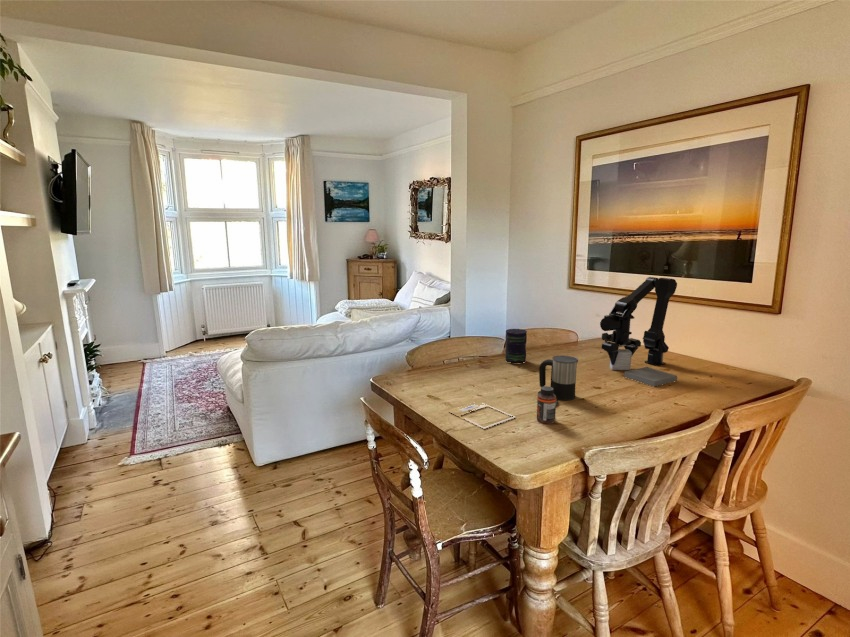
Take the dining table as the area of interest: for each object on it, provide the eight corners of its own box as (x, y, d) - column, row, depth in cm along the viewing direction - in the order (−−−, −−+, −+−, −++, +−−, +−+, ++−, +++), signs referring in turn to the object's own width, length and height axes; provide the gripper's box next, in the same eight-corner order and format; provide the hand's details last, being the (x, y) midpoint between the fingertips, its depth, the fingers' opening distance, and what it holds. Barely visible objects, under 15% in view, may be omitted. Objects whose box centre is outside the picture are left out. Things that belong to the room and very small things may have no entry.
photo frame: (478, 400, 165) (515, 416, 151) (478, 403, 166) (515, 419, 151) (447, 410, 157) (484, 427, 143) (447, 413, 157) (484, 431, 143)
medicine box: (627, 367, 204) (628, 349, 202) (630, 370, 200) (632, 351, 198) (609, 367, 205) (610, 348, 203) (611, 370, 201) (613, 351, 199)
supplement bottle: (533, 417, 152) (535, 385, 150) (551, 416, 152) (552, 384, 150) (539, 424, 146) (541, 391, 144) (557, 424, 146) (559, 390, 144)
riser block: (646, 373, 197) (647, 366, 197) (676, 382, 185) (677, 375, 184) (624, 378, 191) (624, 371, 191) (653, 388, 179) (654, 381, 178)
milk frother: (574, 392, 174) (576, 355, 171) (579, 408, 159) (581, 368, 156) (536, 390, 177) (537, 354, 174) (537, 405, 162) (539, 365, 159)
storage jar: (510, 357, 223) (511, 327, 220) (529, 360, 217) (530, 330, 214) (501, 362, 215) (502, 331, 212) (520, 365, 209) (521, 334, 206)
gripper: (622, 323, 210) (619, 356, 213) (592, 327, 202) (590, 361, 205) (643, 328, 200) (640, 362, 203) (613, 332, 192) (610, 368, 195)
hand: (619, 363), depth 202 cm, fingers closed on medicine box, 9 cm apart
